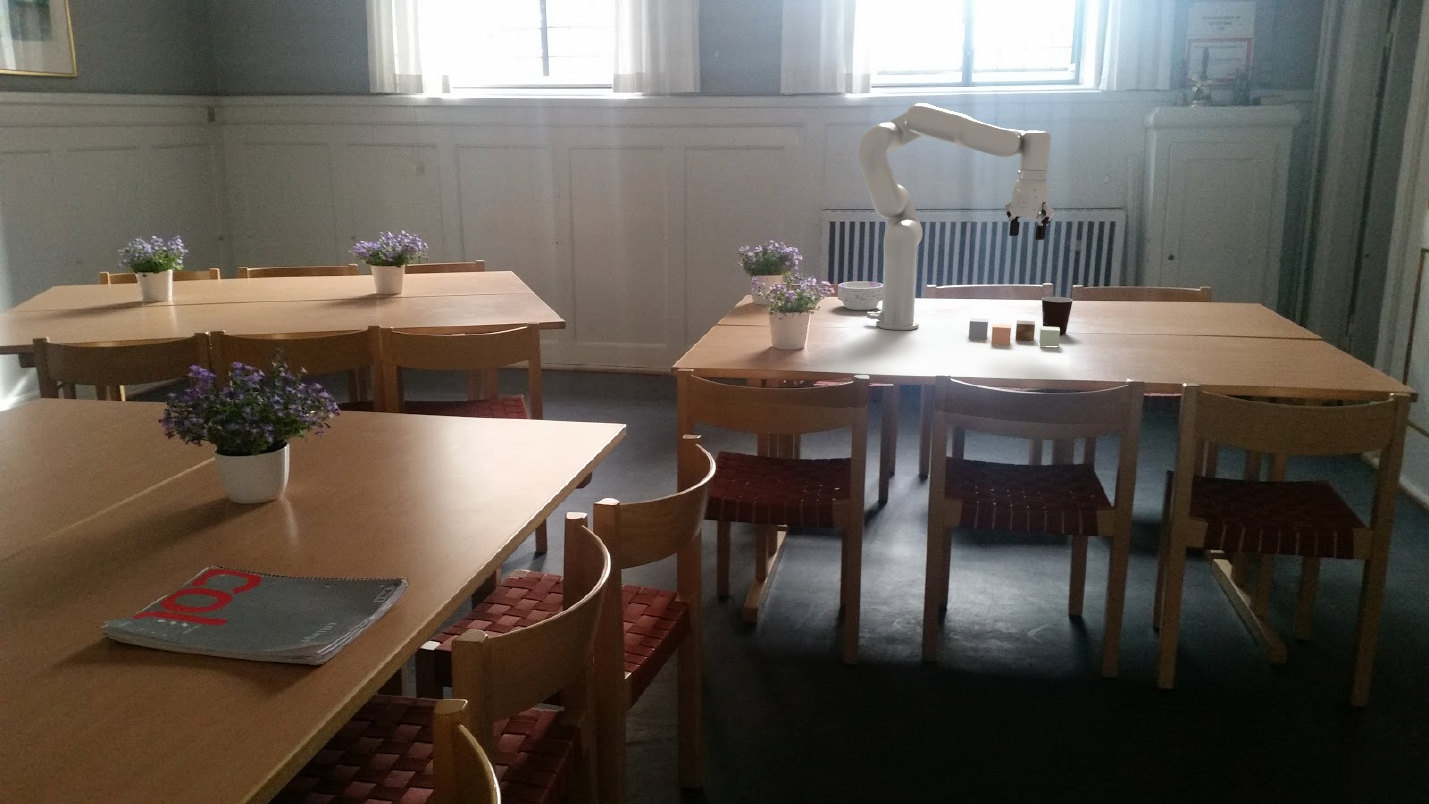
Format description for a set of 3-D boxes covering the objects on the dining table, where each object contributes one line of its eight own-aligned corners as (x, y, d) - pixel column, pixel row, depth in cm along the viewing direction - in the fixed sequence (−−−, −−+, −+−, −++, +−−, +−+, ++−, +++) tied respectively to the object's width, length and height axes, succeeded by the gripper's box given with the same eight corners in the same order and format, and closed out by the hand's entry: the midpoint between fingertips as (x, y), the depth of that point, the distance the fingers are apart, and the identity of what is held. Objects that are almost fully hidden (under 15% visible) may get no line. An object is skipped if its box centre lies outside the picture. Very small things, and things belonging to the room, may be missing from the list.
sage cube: (1039, 347, 307) (1040, 329, 305) (1039, 343, 311) (1040, 326, 310) (1058, 348, 305) (1059, 330, 304) (1057, 344, 310) (1059, 327, 309)
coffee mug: (1063, 337, 319) (1066, 303, 317) (1034, 333, 324) (1037, 299, 322) (1077, 331, 328) (1080, 297, 326) (1049, 327, 333) (1052, 294, 331)
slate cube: (968, 338, 318) (969, 321, 317) (969, 334, 323) (970, 317, 321) (986, 339, 317) (987, 322, 315) (987, 335, 321) (988, 318, 320)
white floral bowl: (828, 306, 367) (829, 282, 364) (867, 302, 373) (868, 279, 371) (852, 313, 353) (853, 289, 351) (892, 310, 359) (894, 286, 357)
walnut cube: (1015, 340, 315) (1016, 323, 313) (1015, 337, 319) (1016, 320, 318) (1033, 341, 313) (1035, 324, 312) (1033, 338, 318) (1034, 321, 317)
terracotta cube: (991, 344, 310) (992, 326, 308) (991, 340, 314) (992, 323, 313) (1009, 345, 309) (1010, 327, 307) (1009, 342, 313) (1011, 324, 312)
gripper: (1000, 174, 315) (994, 234, 319) (1047, 178, 301) (1041, 242, 305) (1018, 173, 319) (1013, 233, 323) (1066, 178, 305) (1059, 240, 309)
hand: (1026, 237), depth 314 cm, fingers open, 9 cm apart
